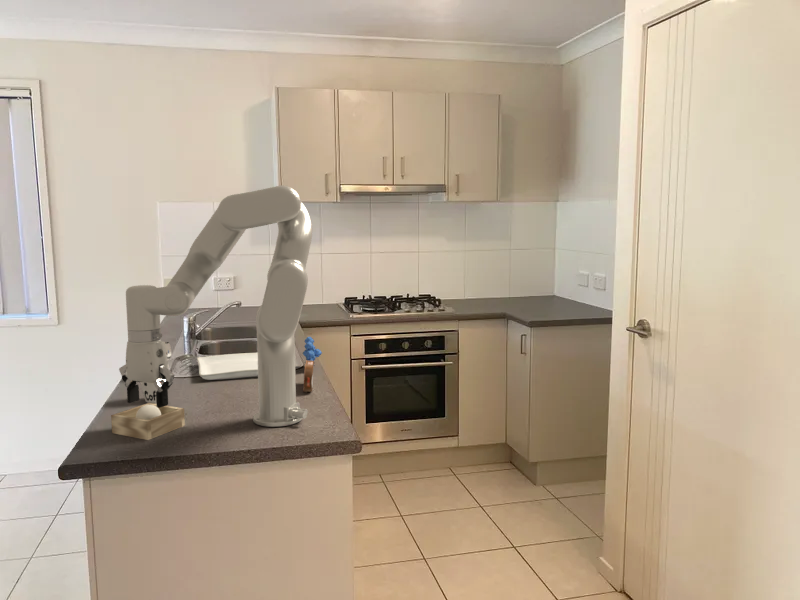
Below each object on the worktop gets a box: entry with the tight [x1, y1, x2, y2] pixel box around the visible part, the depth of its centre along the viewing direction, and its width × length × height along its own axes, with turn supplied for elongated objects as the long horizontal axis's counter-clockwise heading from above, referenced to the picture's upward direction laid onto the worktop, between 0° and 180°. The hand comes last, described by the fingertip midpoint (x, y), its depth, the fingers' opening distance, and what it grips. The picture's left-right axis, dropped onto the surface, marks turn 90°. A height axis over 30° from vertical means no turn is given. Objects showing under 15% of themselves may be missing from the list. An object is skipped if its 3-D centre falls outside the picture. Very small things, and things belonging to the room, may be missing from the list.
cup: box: [139, 364, 170, 404], centre depth 188 cm, size 8×8×10 cm
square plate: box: [196, 352, 258, 381], centre depth 225 cm, size 27×27×4 cm
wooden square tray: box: [110, 402, 186, 441], centre depth 162 cm, size 12×12×4 cm
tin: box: [302, 359, 315, 393], centre depth 201 cm, size 15×3×8 cm, turn 6°
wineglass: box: [163, 341, 172, 362], centre depth 213 cm, size 6×6×12 cm
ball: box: [136, 405, 161, 420], centre depth 162 cm, size 6×6×6 cm
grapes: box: [302, 336, 323, 367], centre depth 226 cm, size 12×7×12 cm, turn 8°
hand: (147, 403), depth 162 cm, fingers open, 9 cm apart
